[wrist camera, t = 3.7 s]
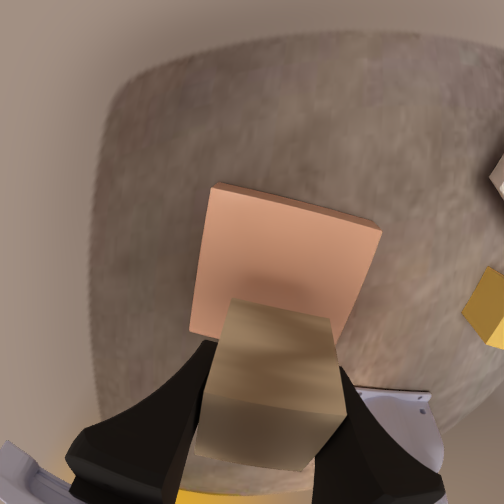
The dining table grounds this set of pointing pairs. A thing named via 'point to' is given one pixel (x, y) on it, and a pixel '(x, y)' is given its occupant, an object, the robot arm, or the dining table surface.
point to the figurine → (498, 176)
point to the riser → (279, 258)
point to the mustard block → (488, 308)
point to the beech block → (271, 389)
